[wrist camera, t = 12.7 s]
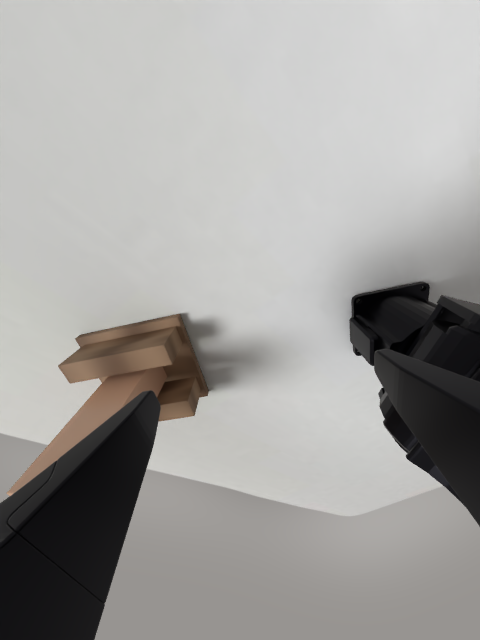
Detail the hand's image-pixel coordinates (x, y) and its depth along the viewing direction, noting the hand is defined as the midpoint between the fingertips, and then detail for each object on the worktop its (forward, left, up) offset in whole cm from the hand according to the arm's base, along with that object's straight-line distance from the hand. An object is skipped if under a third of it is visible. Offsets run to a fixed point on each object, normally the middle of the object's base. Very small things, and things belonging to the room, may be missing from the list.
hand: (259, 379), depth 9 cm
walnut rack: (+13, +6, -13) cm, 19 cm away
